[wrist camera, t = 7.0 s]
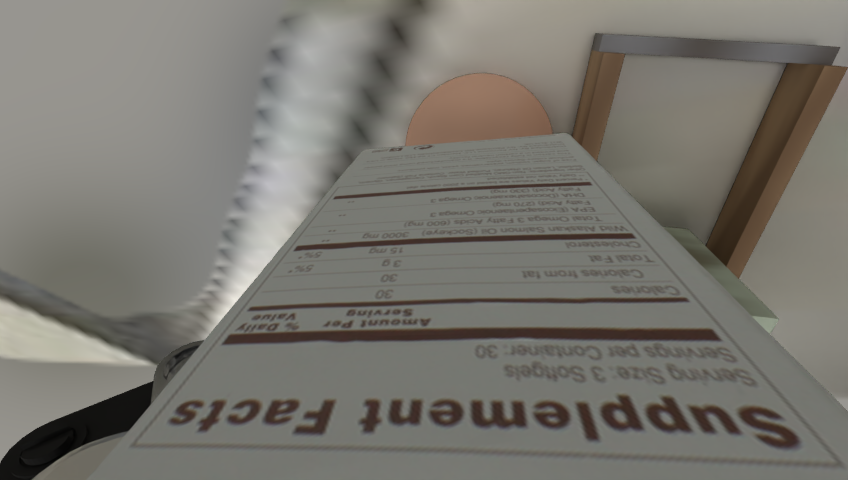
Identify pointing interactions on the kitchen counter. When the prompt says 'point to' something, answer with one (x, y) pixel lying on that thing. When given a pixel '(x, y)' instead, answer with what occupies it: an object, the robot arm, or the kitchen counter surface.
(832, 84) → the rack
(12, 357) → the kitchen counter surface
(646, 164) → the kitchen counter surface
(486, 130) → the coaster
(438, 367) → the supplement box
